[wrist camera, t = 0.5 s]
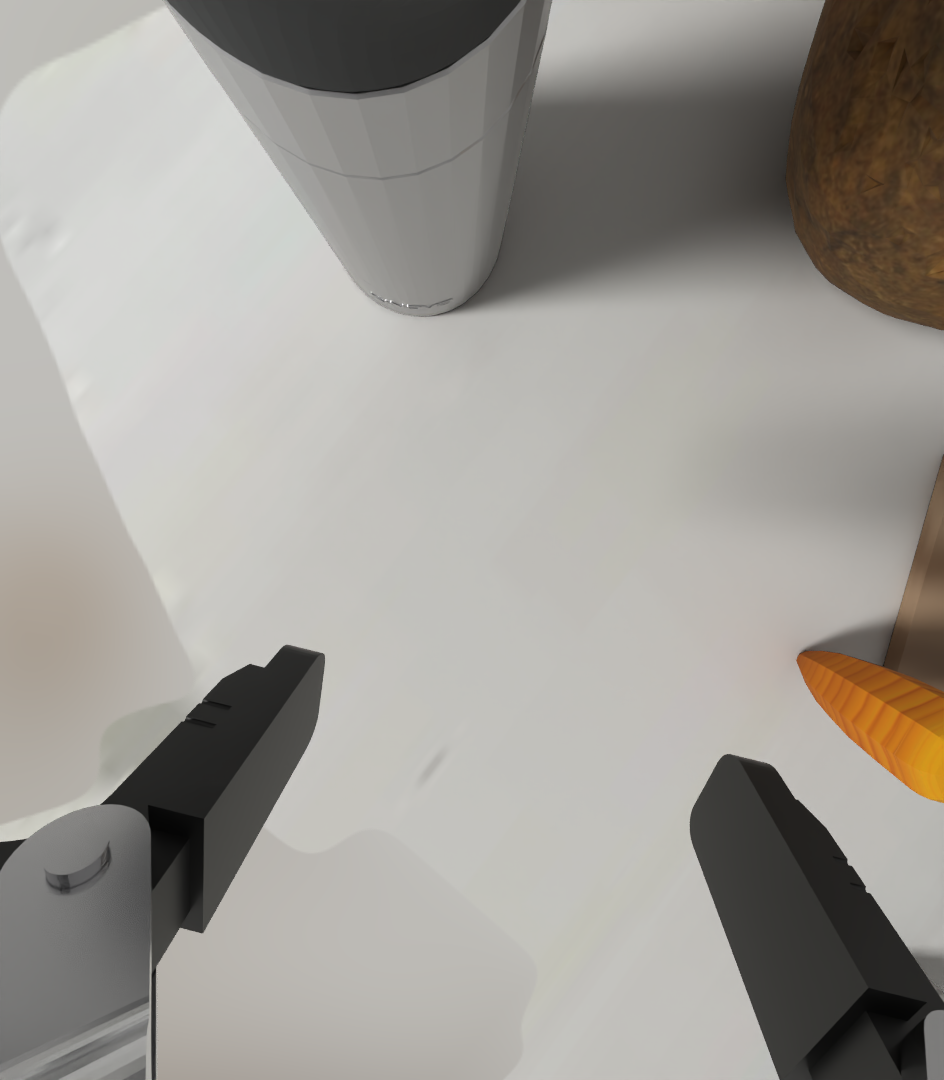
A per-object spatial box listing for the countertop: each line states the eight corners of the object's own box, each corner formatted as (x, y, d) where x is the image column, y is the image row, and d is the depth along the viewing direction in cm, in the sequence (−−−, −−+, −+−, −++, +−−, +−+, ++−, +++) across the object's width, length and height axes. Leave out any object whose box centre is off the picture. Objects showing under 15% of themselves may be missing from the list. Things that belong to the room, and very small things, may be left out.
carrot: (839, 618, 31) (1182, 782, 16) (833, 685, 32) (1150, 895, 17) (765, 625, 31) (1042, 796, 16) (762, 692, 32) (1019, 908, 17)
